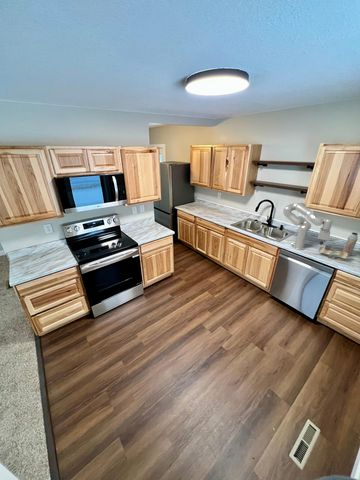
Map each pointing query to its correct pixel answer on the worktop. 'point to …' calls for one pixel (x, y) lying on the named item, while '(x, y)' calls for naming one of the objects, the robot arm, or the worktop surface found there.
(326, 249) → the rider
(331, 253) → the beam
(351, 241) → the thermos bottle
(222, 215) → the worktop surface
